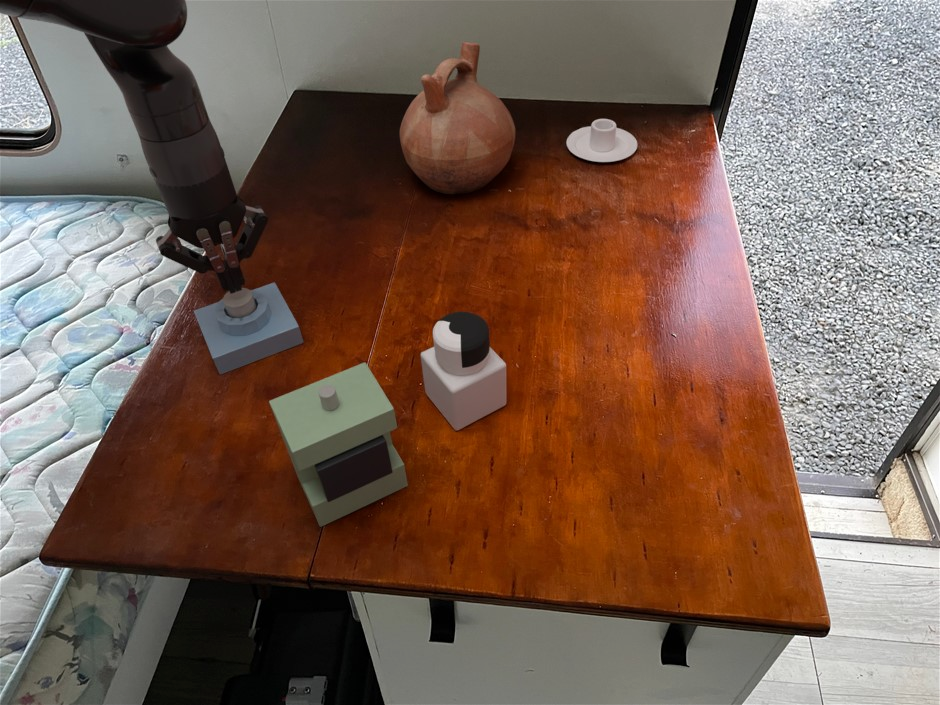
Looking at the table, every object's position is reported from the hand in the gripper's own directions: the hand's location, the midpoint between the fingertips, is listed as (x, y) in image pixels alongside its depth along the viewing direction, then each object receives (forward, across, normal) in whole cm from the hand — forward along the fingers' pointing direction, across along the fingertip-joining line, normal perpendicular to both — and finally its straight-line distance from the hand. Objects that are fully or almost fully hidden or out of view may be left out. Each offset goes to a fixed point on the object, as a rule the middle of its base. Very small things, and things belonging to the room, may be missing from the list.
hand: (234, 288), depth 87 cm
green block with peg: (+8, -3, +29) cm, 30 cm away
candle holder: (+8, -66, -14) cm, 68 cm away
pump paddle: (+4, -3, +32) cm, 32 cm away
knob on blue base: (+8, 0, 0) cm, 8 cm away
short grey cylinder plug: (+3, 0, 0) cm, 3 cm away
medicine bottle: (+8, -19, +24) cm, 32 cm away
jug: (+8, -41, -19) cm, 46 cm away
